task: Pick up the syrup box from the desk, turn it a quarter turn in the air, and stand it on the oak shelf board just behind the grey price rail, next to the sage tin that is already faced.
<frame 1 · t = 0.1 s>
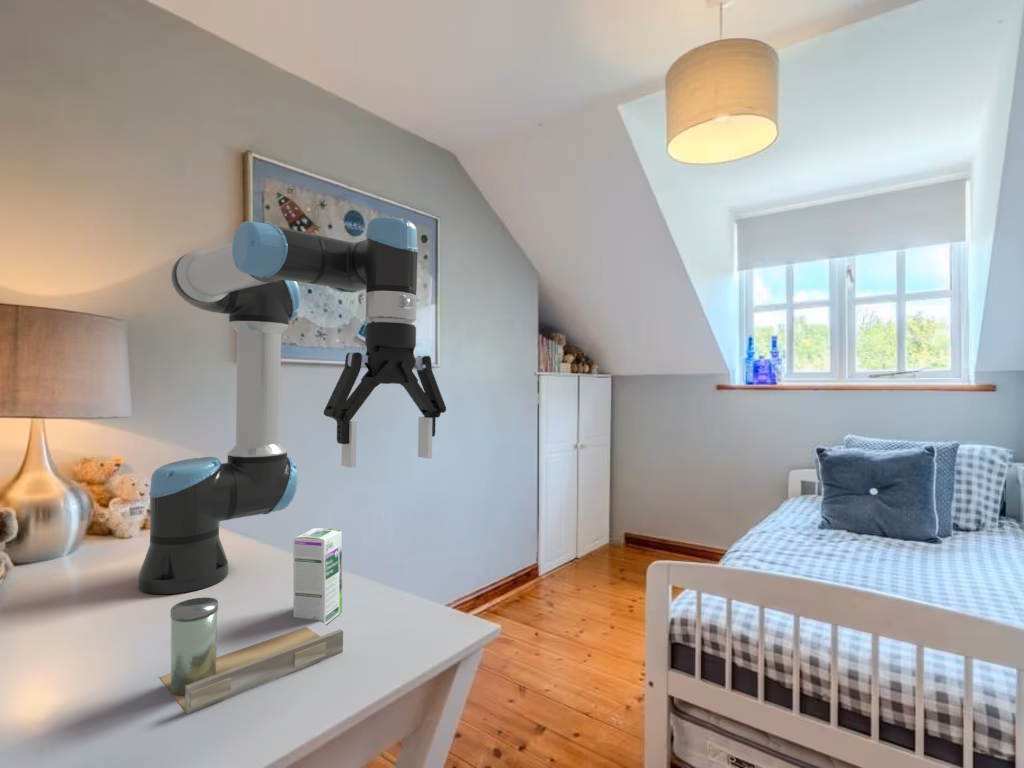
hand: (388, 461, 83), 28 cm above the table, fingers open, 13 cm apart
sage tin: (193, 684, 69), point 1 cm above the table, touching shelf board
shelf board: (255, 672, 74), on the table
syrup box: (317, 619, 91), on the table
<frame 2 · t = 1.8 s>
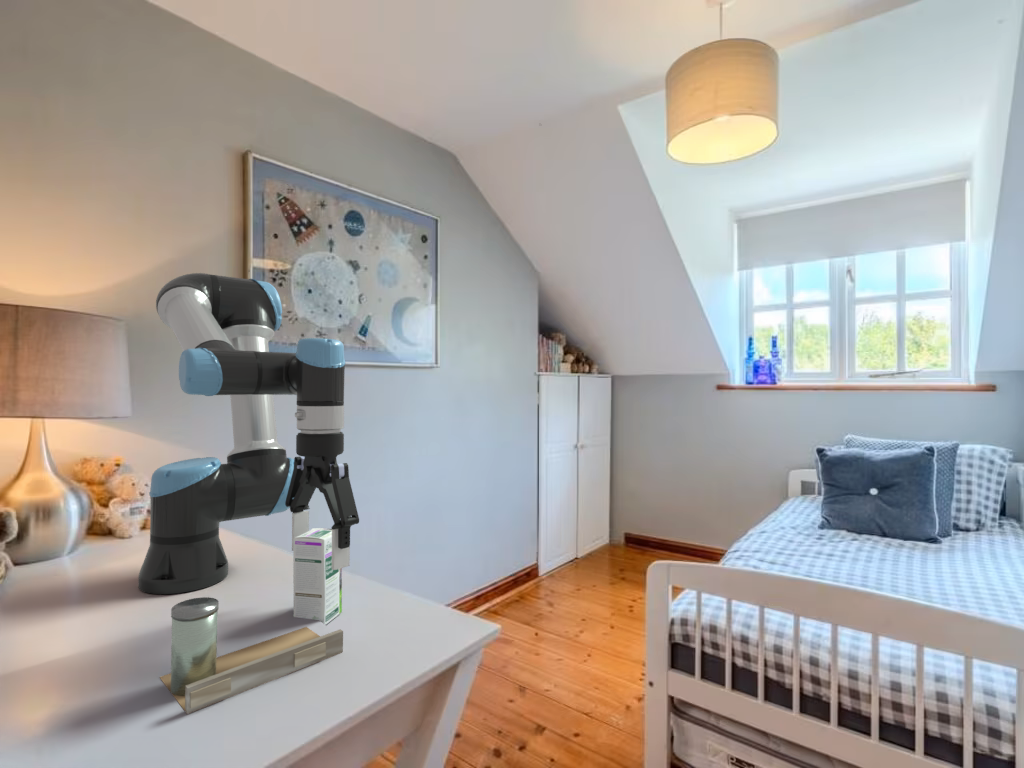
hand: (319, 558, 90), 10 cm above the table, fingers open, 13 cm apart
nothing on the table moved.
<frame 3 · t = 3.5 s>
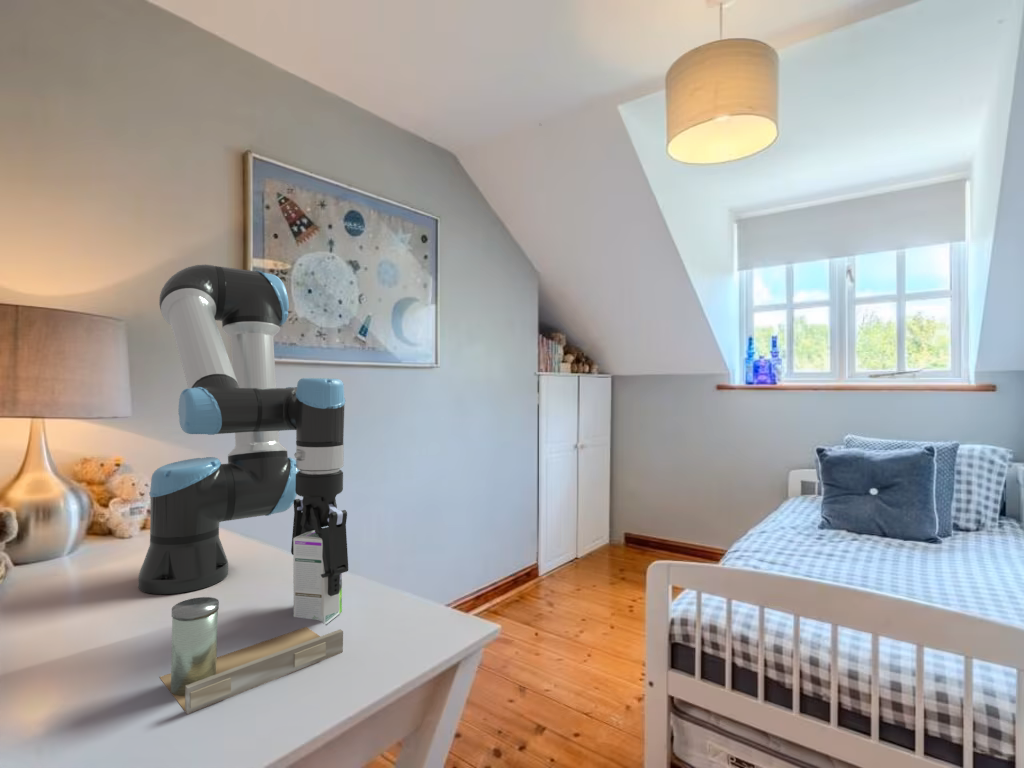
hand: (317, 605, 91), 2 cm above the table, fingers closed on syrup box, 7 cm apart
syrup box: (317, 619, 91), on the table, touching gripper
everything else where it was.
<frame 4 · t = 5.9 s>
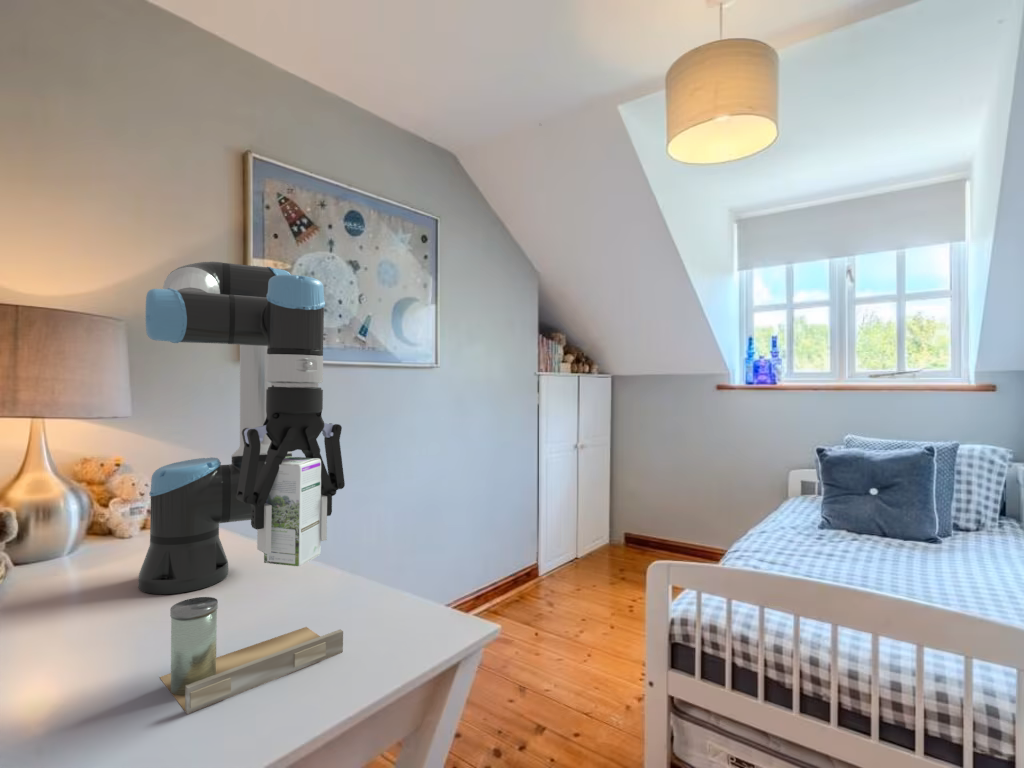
hand: (292, 544, 78), 17 cm above the table, fingers closed on syrup box, 7 cm apart
syrup box: (292, 560, 78), point 14 cm above the table, touching gripper
everything else where it was.
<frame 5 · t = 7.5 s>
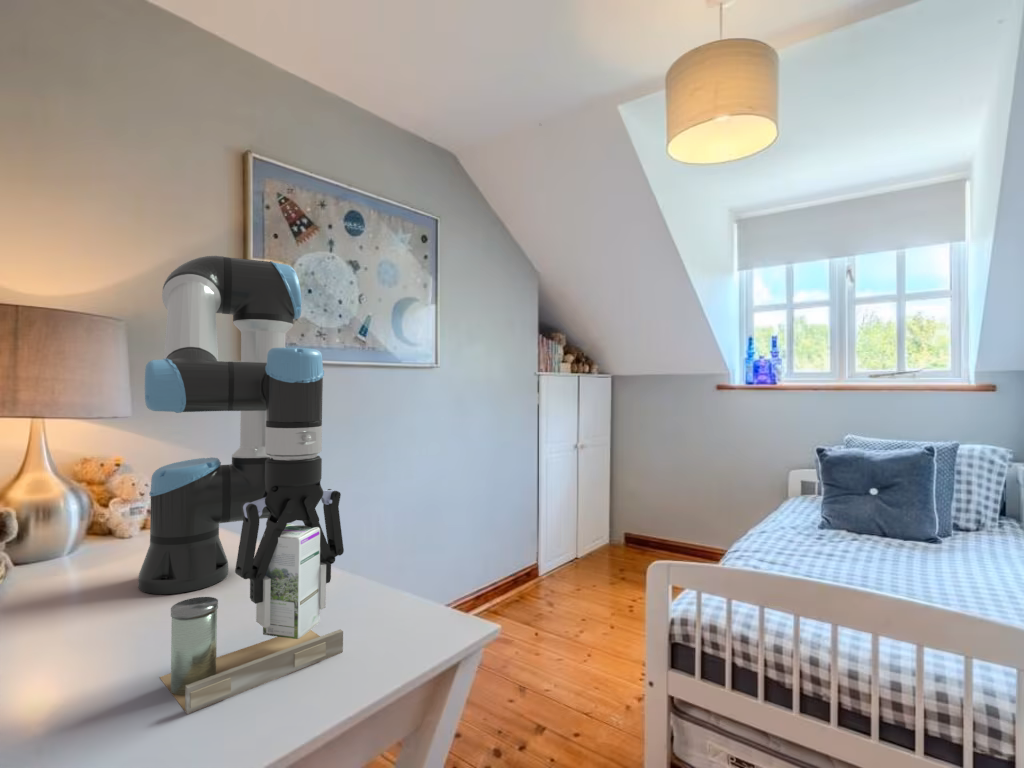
hand: (291, 614, 78), 6 cm above the table, fingers closed on syrup box, 7 cm apart
syrup box: (291, 630, 78), point 4 cm above the table, touching gripper
everything else where it was.
when the fingers open (5 cm above the table, at t = 8.7 s): syrup box drops 1 cm, resting on shelf board.
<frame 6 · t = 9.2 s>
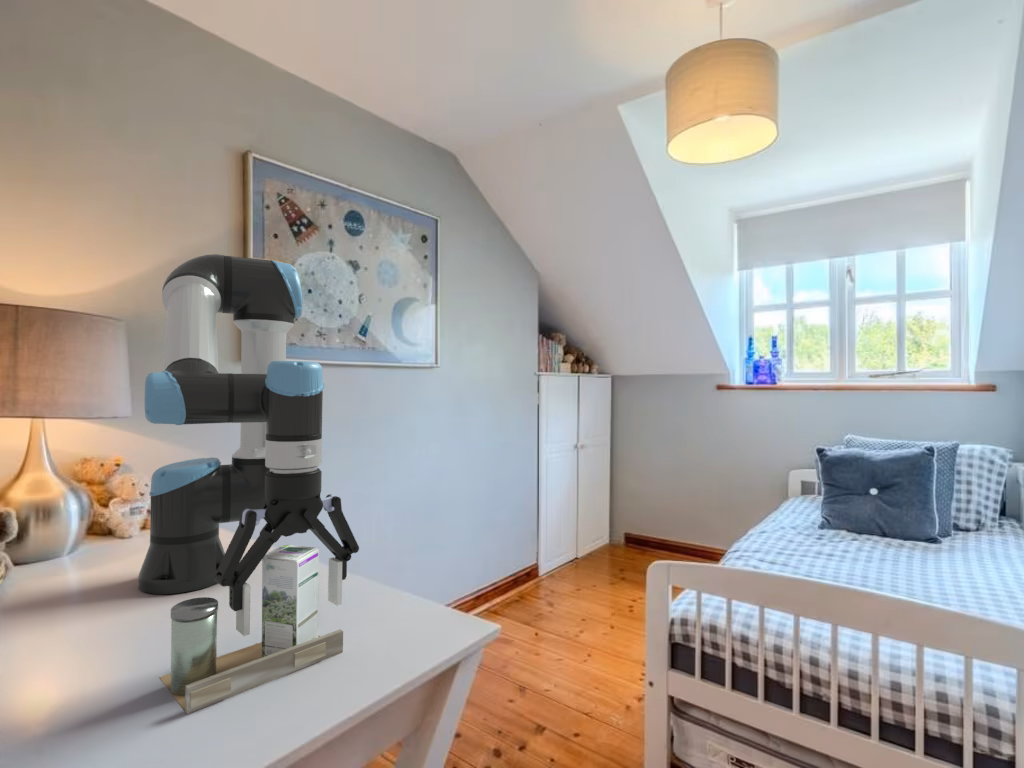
hand: (291, 616, 78), 6 cm above the table, fingers open, 13 cm apart
syrup box: (290, 652, 78), point 1 cm above the table, touching shelf board
everything else where it was.
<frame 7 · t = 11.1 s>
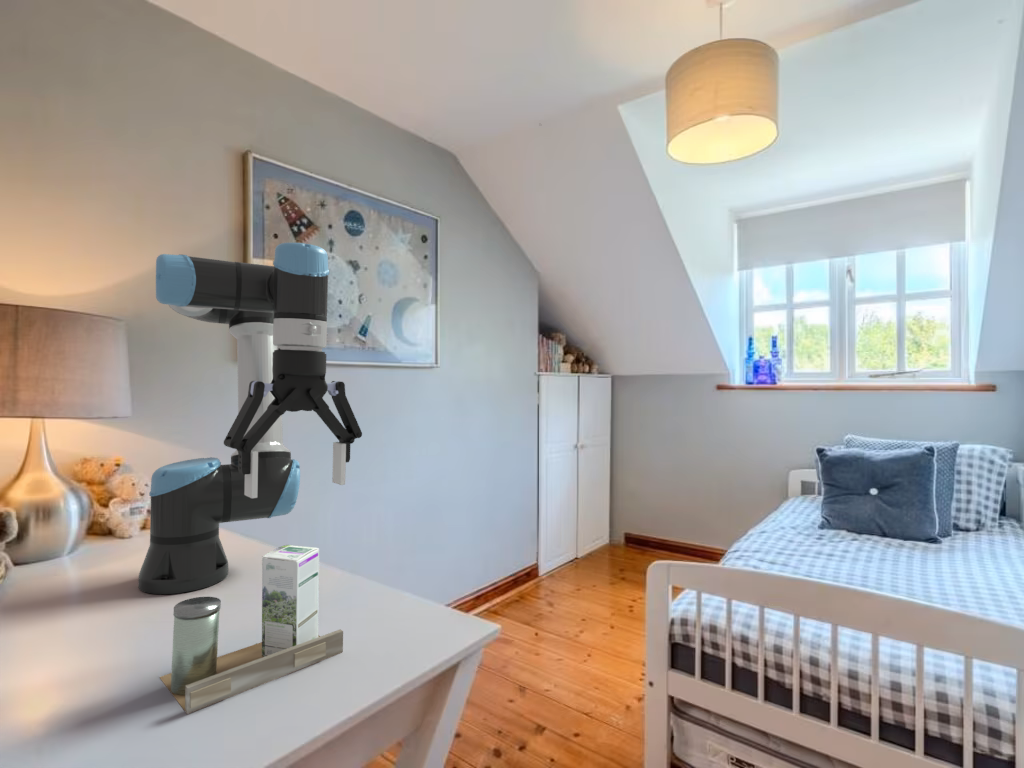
hand: (297, 489, 82), 24 cm above the table, fingers open, 13 cm apart
nothing on the table moved.
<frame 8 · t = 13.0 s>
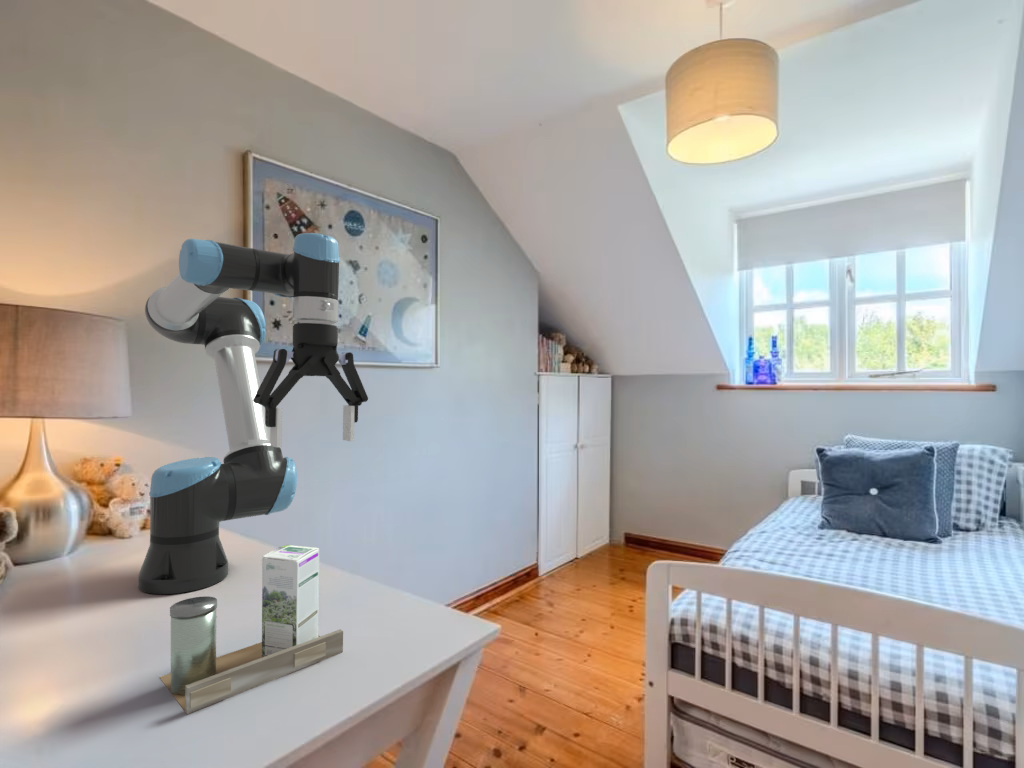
hand: (313, 443, 96), 29 cm above the table, fingers open, 13 cm apart
nothing on the table moved.
at the end: syrup box inside the target area (0.1 cm from its centre), point 1.0 cm above the table; syrup box tilted 0°; sage tin moved 0.1 cm from its start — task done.
